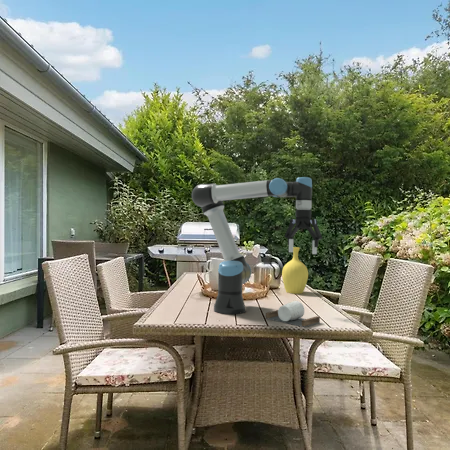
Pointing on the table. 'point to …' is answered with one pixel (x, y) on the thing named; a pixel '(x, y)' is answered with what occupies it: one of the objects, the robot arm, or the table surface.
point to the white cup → (291, 311)
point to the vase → (295, 274)
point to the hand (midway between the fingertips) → (302, 253)
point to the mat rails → (304, 322)
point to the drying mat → (294, 322)
